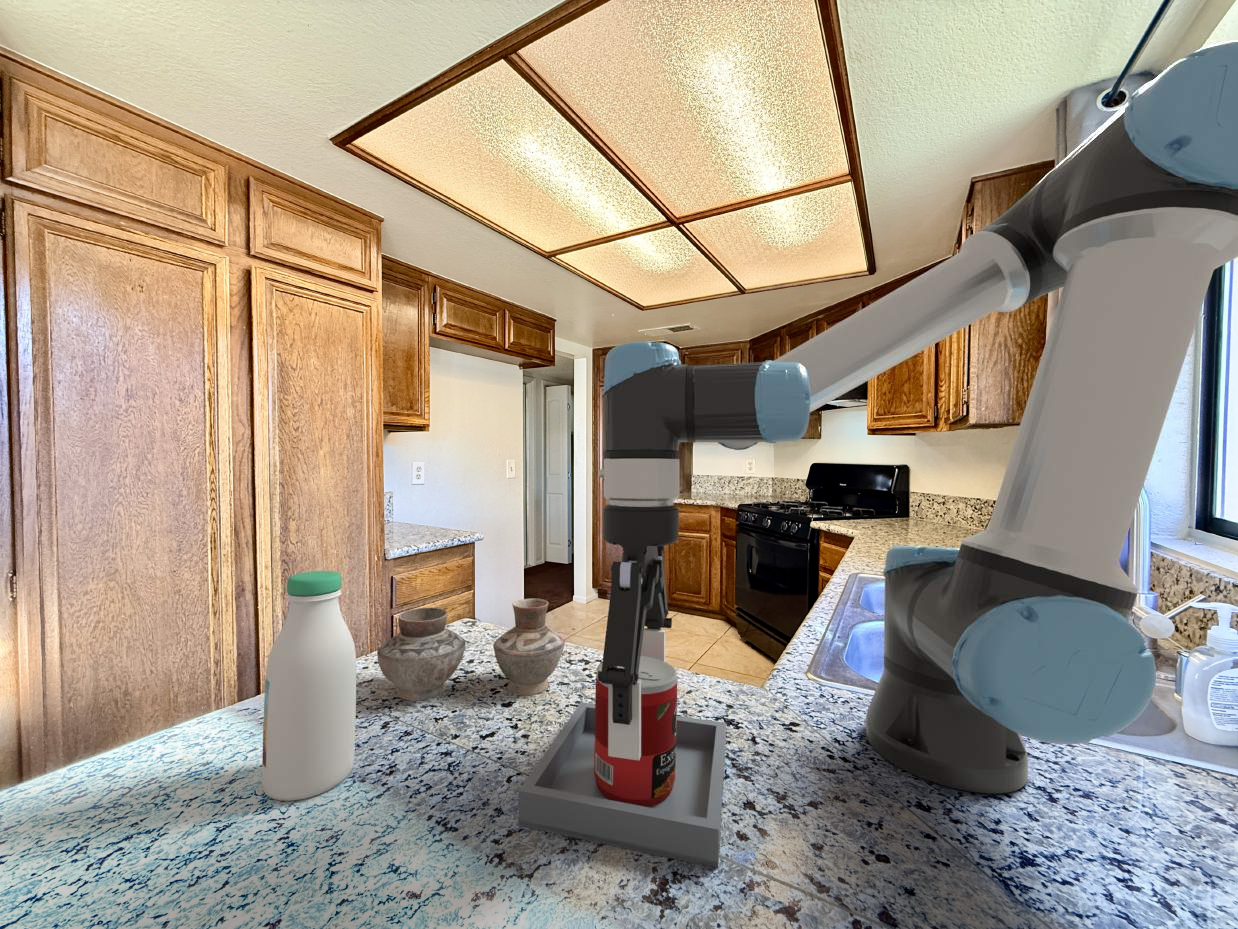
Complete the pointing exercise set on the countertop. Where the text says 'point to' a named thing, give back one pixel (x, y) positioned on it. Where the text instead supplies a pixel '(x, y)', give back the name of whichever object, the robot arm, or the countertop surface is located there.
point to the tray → (578, 809)
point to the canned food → (658, 740)
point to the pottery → (436, 652)
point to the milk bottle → (310, 693)
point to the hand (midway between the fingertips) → (640, 718)
